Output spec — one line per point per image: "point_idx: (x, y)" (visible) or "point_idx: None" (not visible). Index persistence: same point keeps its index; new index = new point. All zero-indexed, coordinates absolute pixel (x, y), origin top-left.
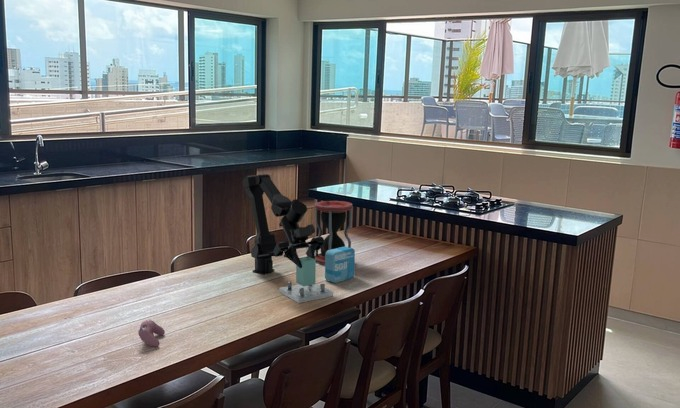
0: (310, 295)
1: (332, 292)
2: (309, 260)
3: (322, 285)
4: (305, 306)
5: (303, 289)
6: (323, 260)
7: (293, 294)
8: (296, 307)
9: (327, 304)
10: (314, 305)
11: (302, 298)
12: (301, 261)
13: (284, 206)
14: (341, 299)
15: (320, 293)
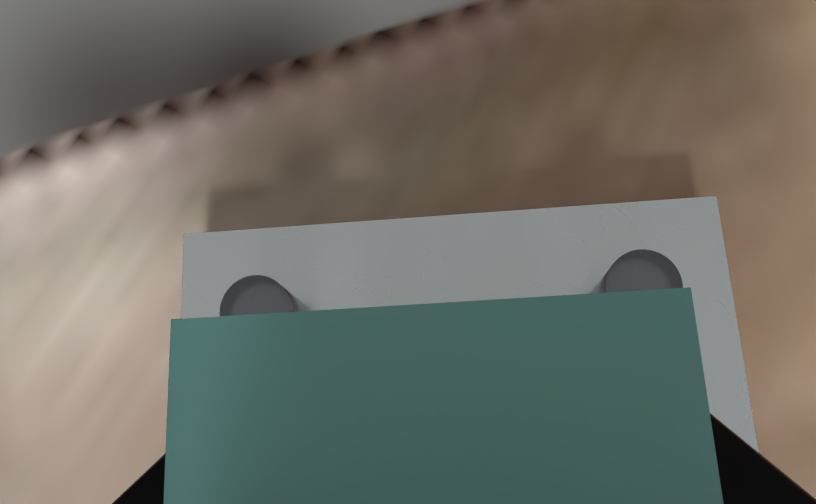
0: (513, 246)
1: (192, 235)
2: (412, 330)
3: (273, 282)
4: (668, 85)
5: (623, 257)
6: None
7: (716, 396)
8: (781, 100)
9: (411, 38)
10: (558, 70)
11: (658, 200)
12: (702, 436)
13: None
14: (188, 108)
15: (354, 257)
